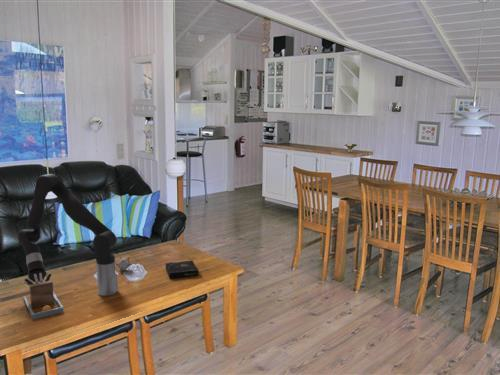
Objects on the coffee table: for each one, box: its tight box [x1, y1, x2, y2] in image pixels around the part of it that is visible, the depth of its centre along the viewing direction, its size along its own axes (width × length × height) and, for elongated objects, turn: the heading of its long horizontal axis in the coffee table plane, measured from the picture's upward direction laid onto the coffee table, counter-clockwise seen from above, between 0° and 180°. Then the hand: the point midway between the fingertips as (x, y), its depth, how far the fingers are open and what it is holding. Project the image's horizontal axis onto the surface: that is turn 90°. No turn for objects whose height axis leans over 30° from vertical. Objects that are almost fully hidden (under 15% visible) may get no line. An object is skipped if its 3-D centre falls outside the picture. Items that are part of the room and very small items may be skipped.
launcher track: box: [23, 290, 59, 312], centre depth 224 cm, size 16×14×2 cm
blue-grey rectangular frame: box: [28, 298, 64, 321], centre depth 214 cm, size 11×14×2 cm
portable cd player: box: [165, 260, 199, 280], centre depth 264 cm, size 16×17×4 cm
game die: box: [115, 256, 133, 271], centre depth 264 cm, size 9×8×10 cm
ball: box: [41, 304, 52, 312], centre depth 212 cm, size 4×4×4 cm
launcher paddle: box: [28, 280, 55, 309], centre depth 220 cm, size 3×10×11 cm, turn 125°
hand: (41, 294), depth 221 cm, fingers closed
